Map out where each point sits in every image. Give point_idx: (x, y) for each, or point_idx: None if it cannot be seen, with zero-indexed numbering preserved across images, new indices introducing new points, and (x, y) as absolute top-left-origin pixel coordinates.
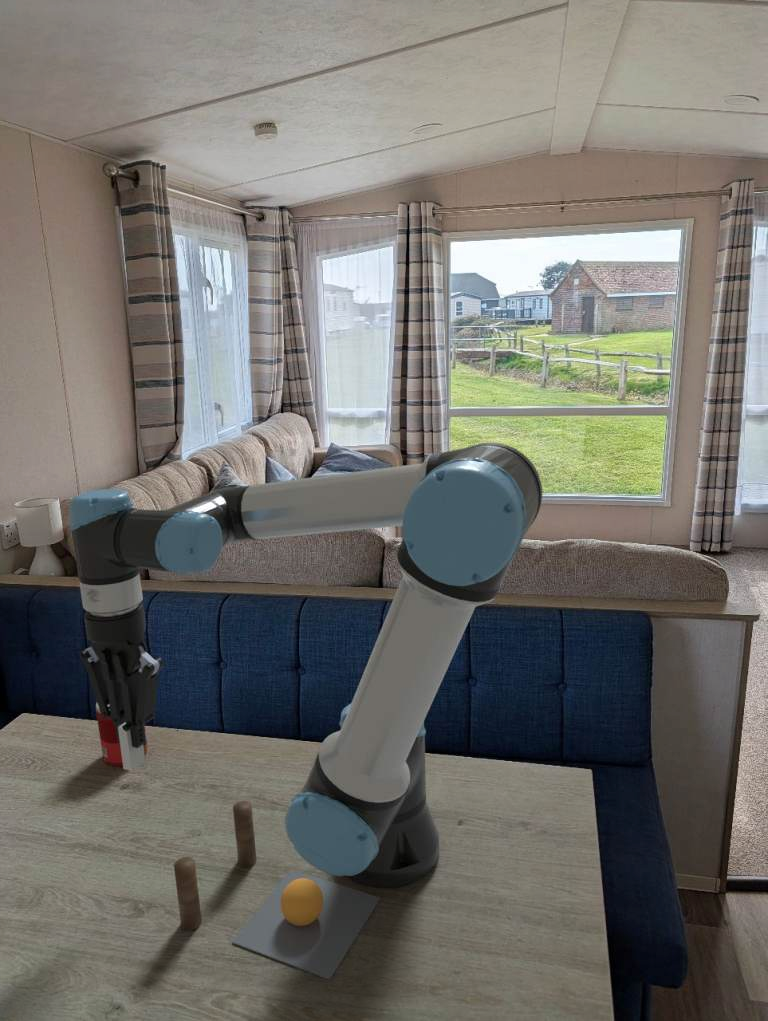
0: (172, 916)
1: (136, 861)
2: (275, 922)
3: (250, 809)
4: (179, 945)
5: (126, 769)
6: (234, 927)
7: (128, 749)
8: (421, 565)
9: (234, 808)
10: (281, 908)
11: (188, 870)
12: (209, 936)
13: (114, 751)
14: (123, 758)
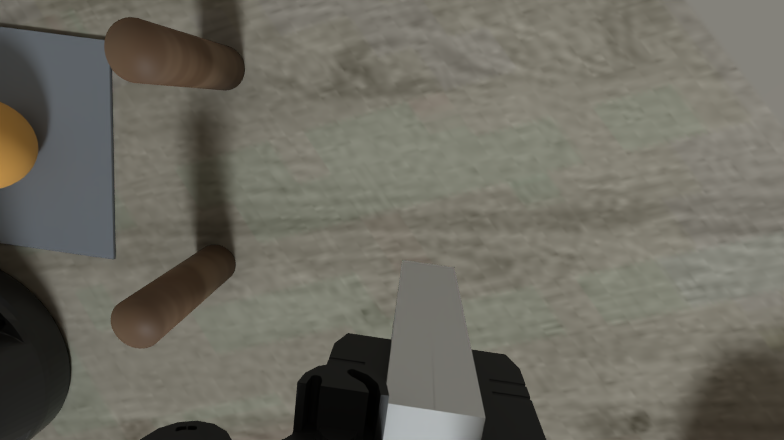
0: (273, 73)
1: (454, 202)
2: (58, 114)
3: (112, 320)
4: (210, 3)
5: (435, 265)
6: None
7: (397, 310)
8: None
9: (153, 312)
10: (5, 112)
11: (110, 32)
12: None
13: None
14: (448, 288)
